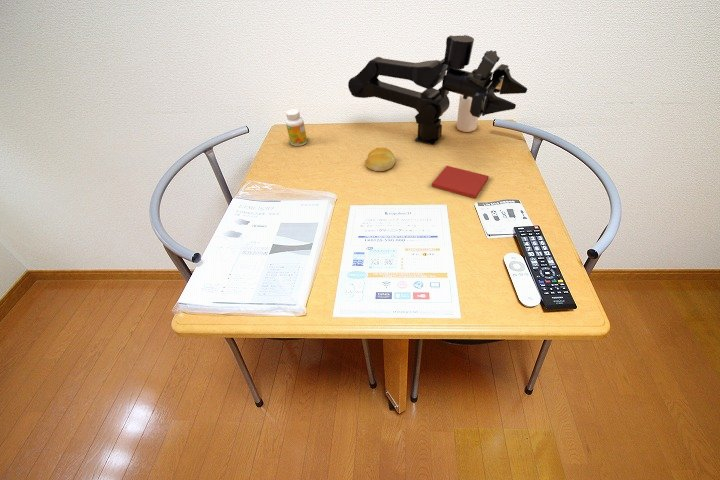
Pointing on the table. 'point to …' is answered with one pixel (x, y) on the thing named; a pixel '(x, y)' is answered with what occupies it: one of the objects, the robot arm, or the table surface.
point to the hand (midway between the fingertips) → (521, 98)
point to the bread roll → (380, 159)
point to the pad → (460, 181)
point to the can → (466, 116)
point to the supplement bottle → (295, 128)
